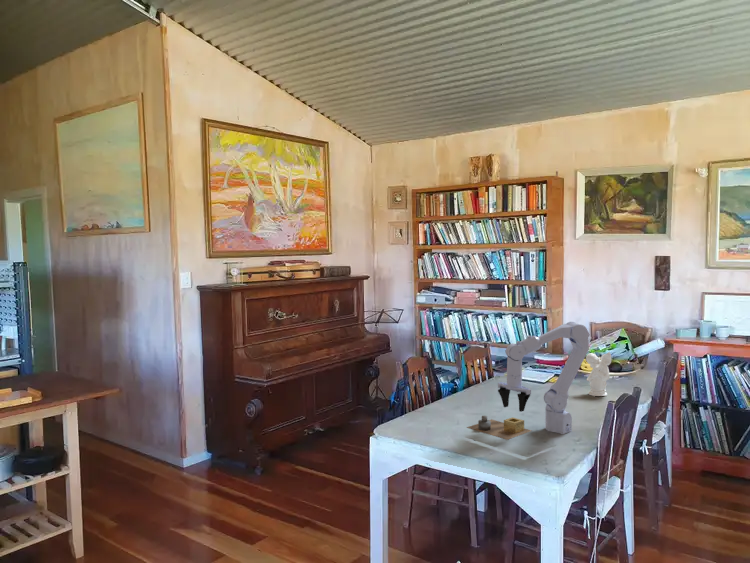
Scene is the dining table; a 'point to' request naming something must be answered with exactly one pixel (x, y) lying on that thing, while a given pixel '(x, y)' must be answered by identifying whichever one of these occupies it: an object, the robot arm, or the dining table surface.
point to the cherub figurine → (598, 373)
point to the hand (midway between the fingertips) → (513, 408)
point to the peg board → (495, 428)
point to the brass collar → (514, 425)
